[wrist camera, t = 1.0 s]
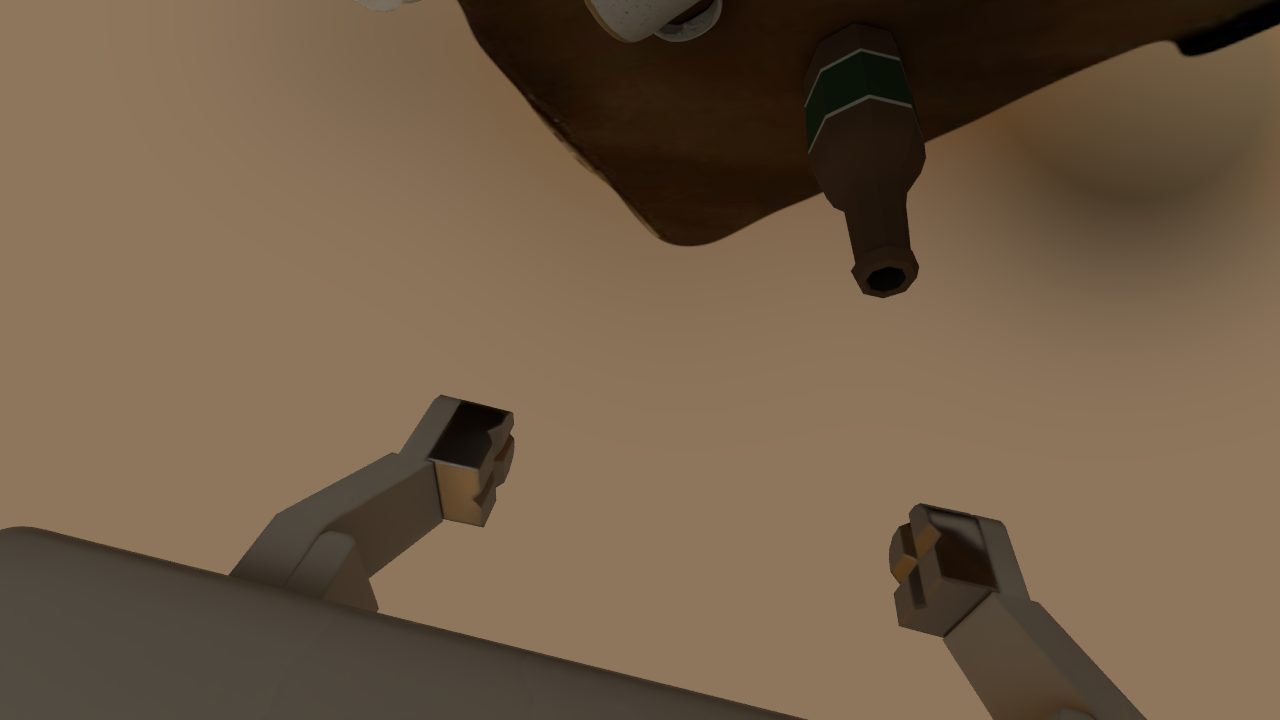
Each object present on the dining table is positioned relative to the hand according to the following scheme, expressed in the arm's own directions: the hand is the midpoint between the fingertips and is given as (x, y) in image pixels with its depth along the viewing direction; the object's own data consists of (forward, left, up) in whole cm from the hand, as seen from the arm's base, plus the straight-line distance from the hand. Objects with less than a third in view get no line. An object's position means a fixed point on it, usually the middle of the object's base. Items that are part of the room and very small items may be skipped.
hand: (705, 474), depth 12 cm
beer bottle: (+11, +15, -45) cm, 48 cm away
